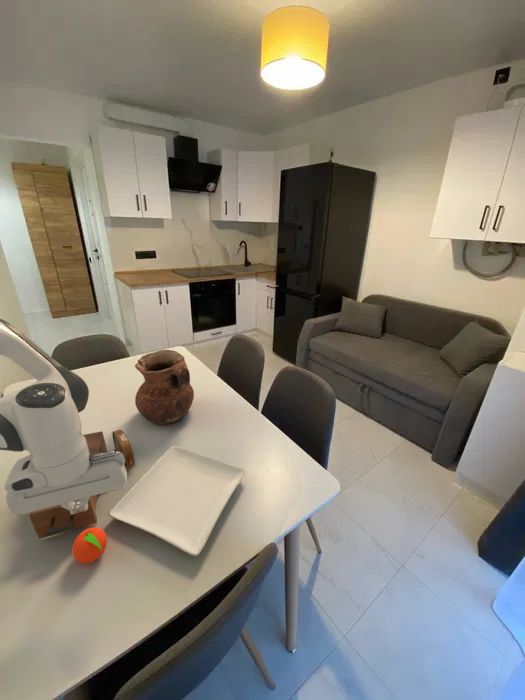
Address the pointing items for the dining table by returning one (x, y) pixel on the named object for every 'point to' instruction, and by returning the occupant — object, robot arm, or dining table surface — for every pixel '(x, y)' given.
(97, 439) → the cabinet
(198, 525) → the square plate
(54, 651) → the dining table surface
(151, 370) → the jug
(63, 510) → the drawer
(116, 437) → the tin
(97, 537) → the clementine
